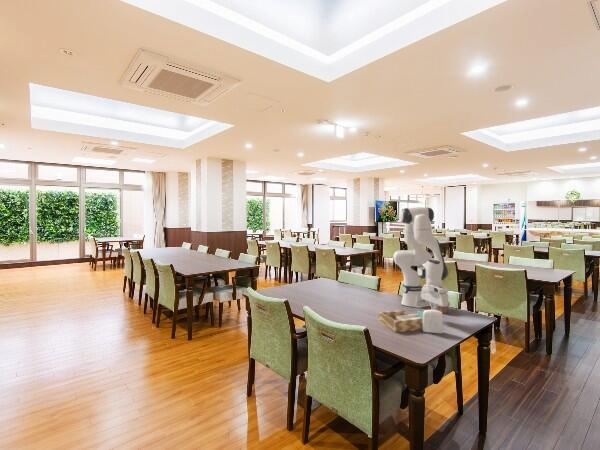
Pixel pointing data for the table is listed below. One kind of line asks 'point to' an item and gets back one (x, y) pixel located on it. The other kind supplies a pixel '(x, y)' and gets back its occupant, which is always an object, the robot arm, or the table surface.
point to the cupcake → (443, 308)
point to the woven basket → (399, 321)
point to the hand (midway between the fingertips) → (433, 310)
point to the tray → (410, 316)
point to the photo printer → (432, 321)
